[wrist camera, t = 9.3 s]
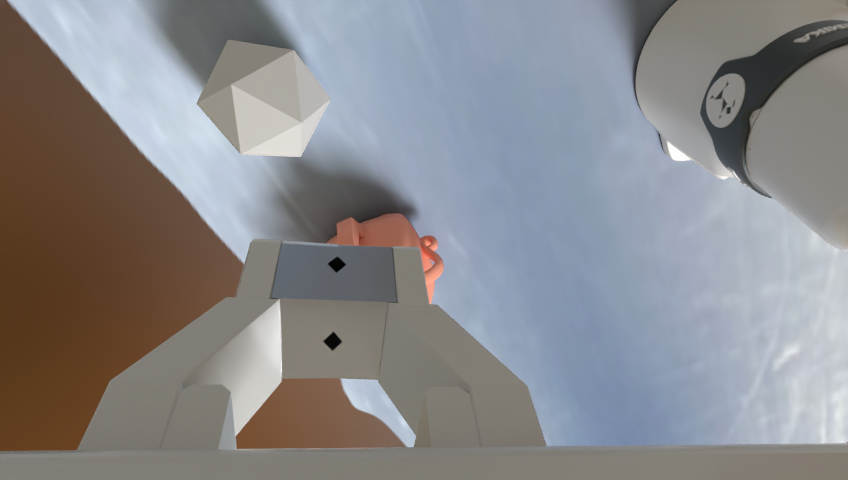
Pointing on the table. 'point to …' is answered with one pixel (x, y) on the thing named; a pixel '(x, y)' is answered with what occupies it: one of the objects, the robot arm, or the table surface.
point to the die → (263, 99)
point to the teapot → (392, 240)
